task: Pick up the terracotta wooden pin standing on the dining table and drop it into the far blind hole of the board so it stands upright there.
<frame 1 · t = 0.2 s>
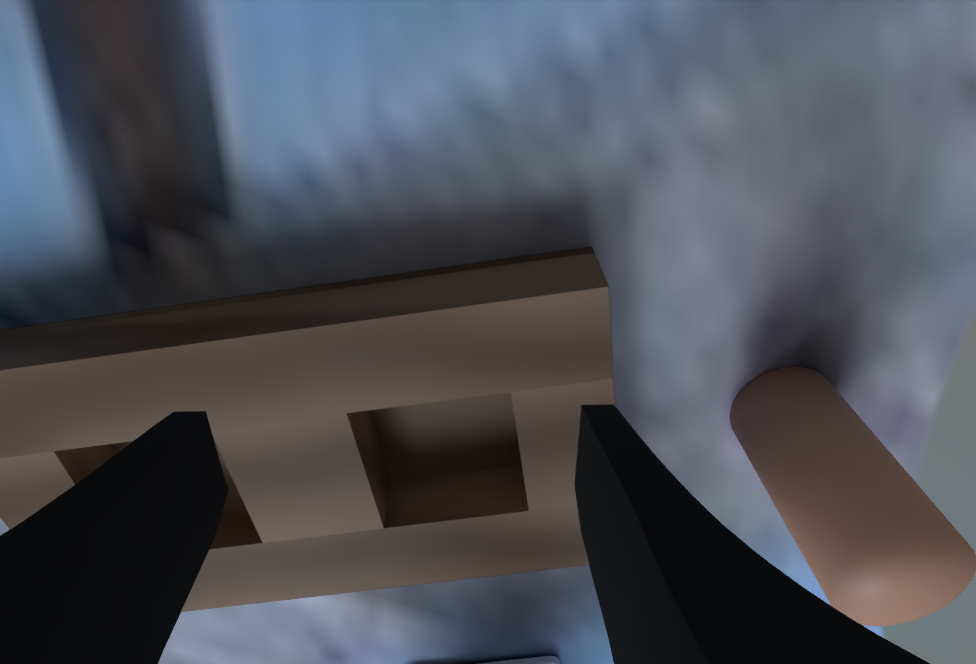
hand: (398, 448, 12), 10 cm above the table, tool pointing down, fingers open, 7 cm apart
bore board: (319, 427, 25), on the table
pin: (781, 409, 25), on the table
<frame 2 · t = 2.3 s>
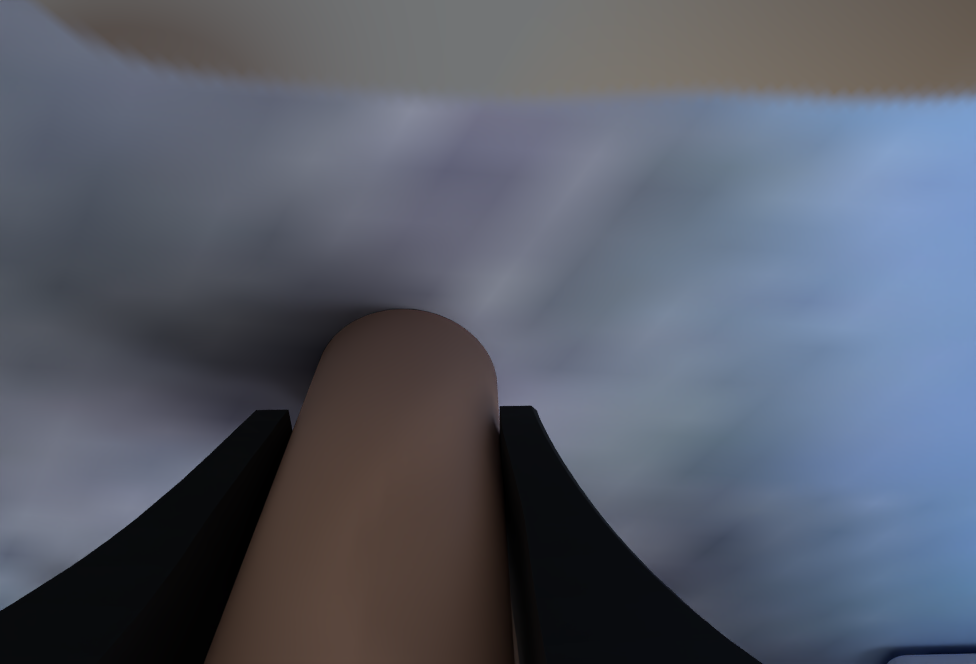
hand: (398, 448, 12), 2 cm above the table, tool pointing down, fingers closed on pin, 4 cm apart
pin: (407, 388, 14), on the table, touching gripper
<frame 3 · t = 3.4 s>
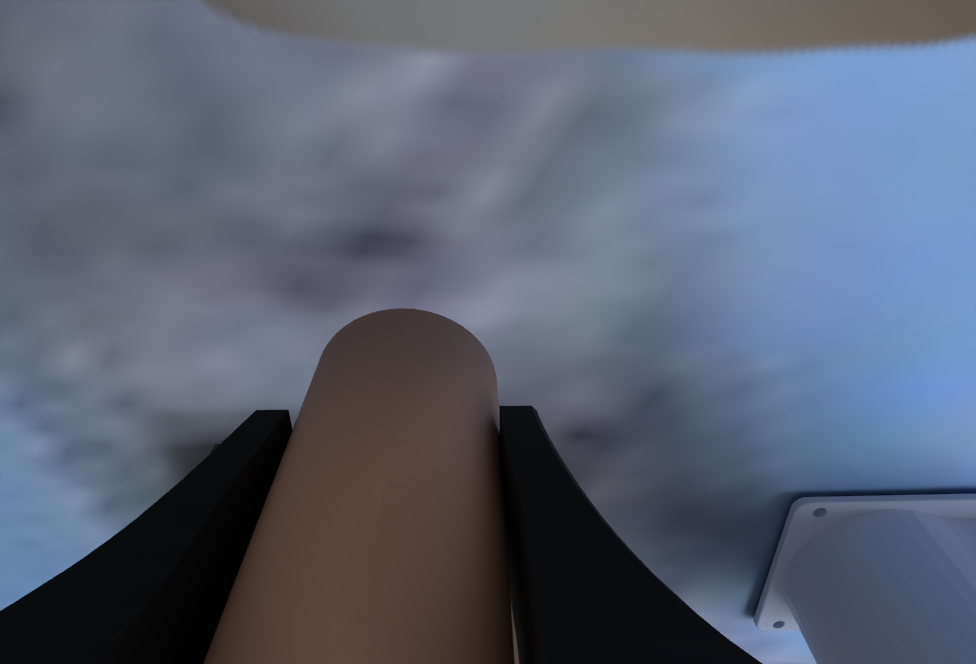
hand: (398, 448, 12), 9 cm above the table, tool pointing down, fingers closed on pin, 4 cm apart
pin: (407, 387, 14), point 6 cm above the table, touching gripper
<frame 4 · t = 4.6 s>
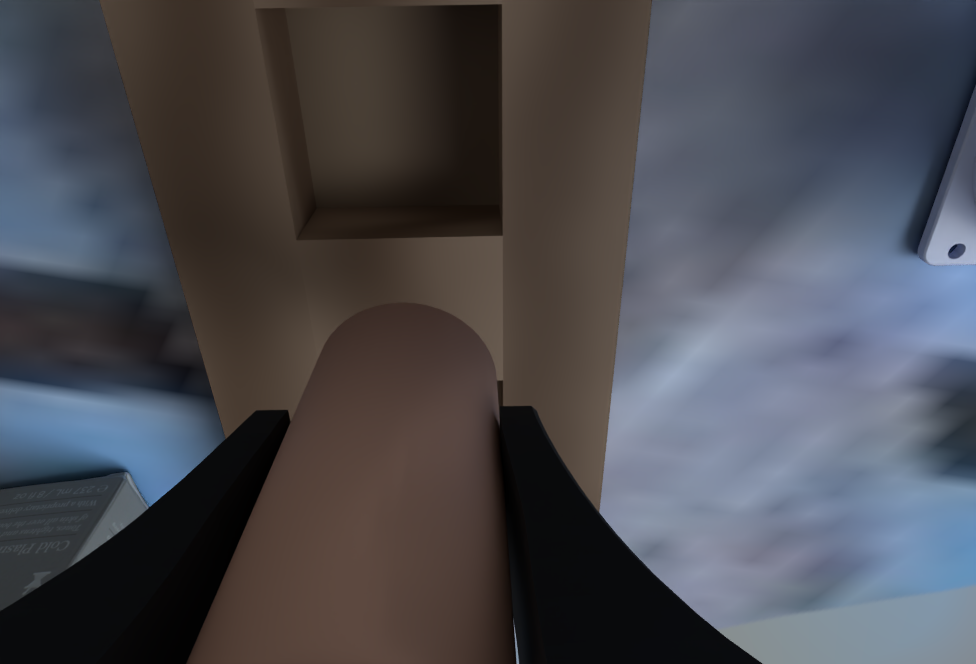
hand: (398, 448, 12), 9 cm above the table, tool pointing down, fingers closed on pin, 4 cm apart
bore board: (415, 270, 20), on the table
pin: (407, 384, 14), point 7 cm above the table, touching gripper
skincare box: (77, 538, 26), on the table
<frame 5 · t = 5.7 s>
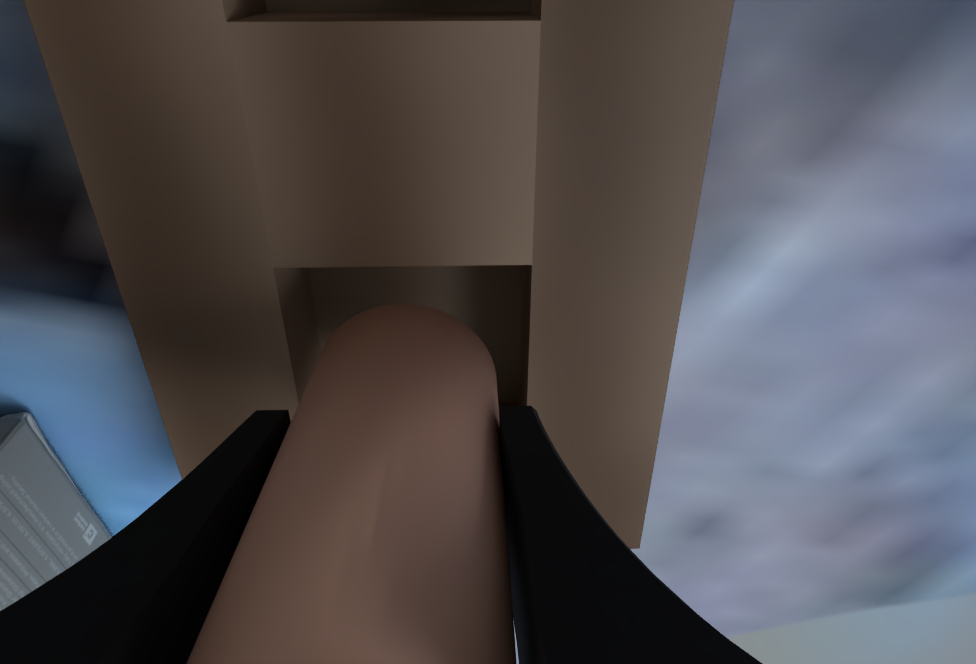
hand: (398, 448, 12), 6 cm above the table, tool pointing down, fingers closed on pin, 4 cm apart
bore board: (408, 121, 15), on the table
pin: (407, 385, 14), point 4 cm above the table, touching gripper
when the fingers open (4 cm above the table, at t = 6.8 s): pin drops 1 cm, resting on bore board.
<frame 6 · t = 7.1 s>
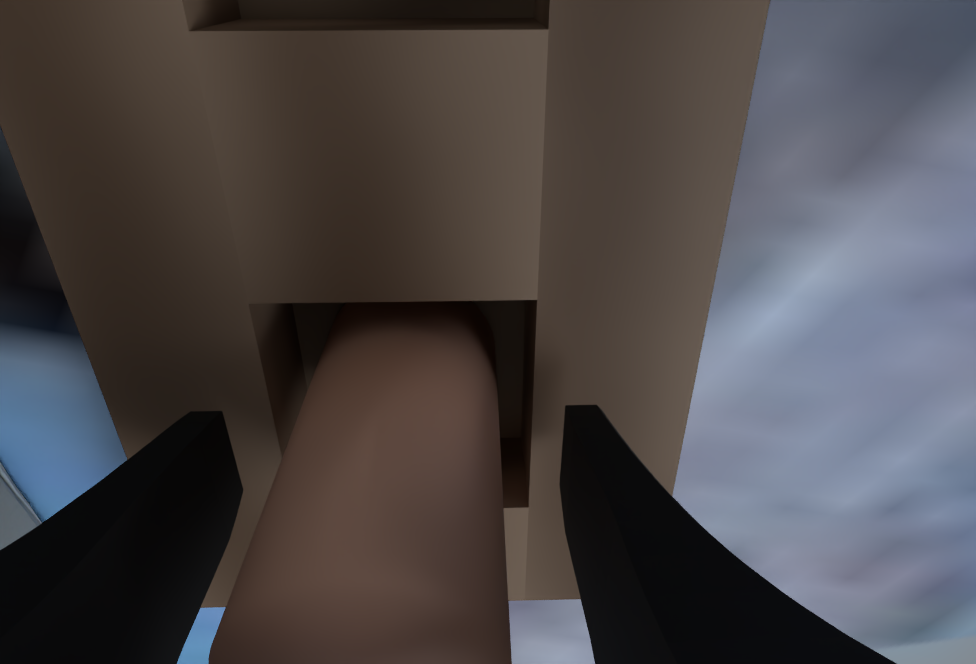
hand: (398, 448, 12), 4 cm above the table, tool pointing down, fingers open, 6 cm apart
bore board: (399, 138, 13), on the table
pin: (412, 351, 15), point 1 cm above the table, touching bore board
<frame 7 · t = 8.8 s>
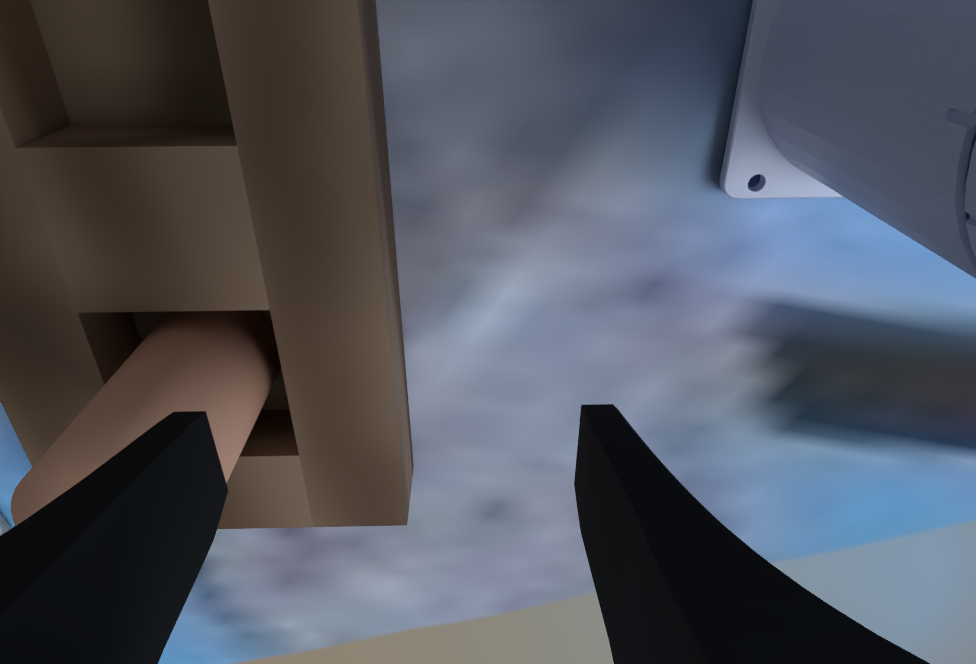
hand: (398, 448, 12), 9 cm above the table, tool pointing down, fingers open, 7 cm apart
bore board: (194, 198, 19), on the table
pin: (223, 345, 21), point 1 cm above the table, touching bore board
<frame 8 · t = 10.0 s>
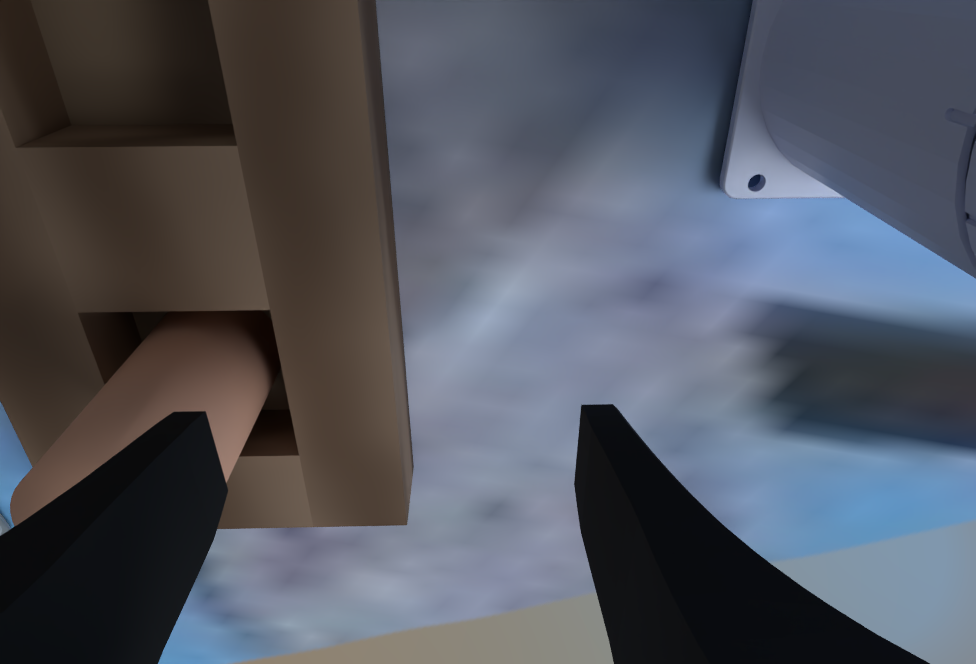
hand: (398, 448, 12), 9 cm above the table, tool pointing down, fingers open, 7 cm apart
bore board: (194, 198, 19), on the table
pin: (223, 345, 21), point 1 cm above the table, touching bore board
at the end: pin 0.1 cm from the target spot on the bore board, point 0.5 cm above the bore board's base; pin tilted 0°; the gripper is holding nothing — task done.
